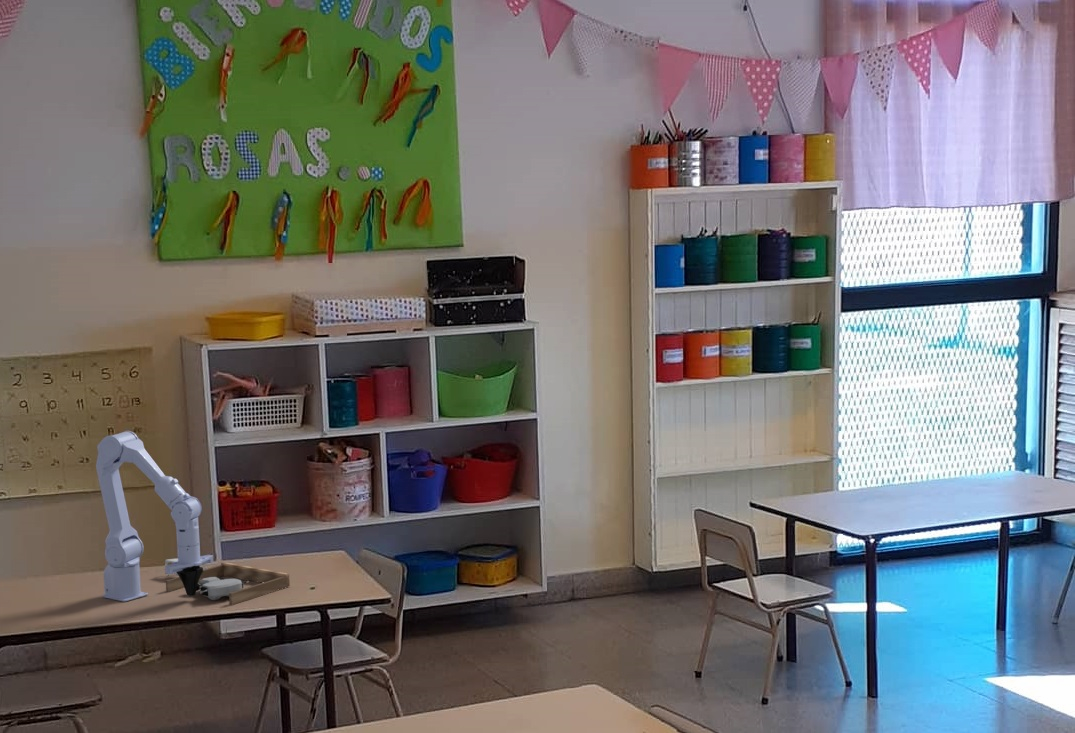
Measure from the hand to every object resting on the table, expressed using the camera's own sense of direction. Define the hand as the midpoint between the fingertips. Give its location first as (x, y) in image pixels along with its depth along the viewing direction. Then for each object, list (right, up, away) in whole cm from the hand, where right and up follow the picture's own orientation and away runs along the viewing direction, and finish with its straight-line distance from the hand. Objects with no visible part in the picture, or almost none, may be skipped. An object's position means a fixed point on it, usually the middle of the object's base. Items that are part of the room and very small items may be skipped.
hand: (191, 595), depth 362 cm
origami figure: (-8, +1, +25) cm, 26 cm away
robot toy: (+6, -1, +5) cm, 7 cm away
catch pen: (+7, 0, +10) cm, 12 cm away
